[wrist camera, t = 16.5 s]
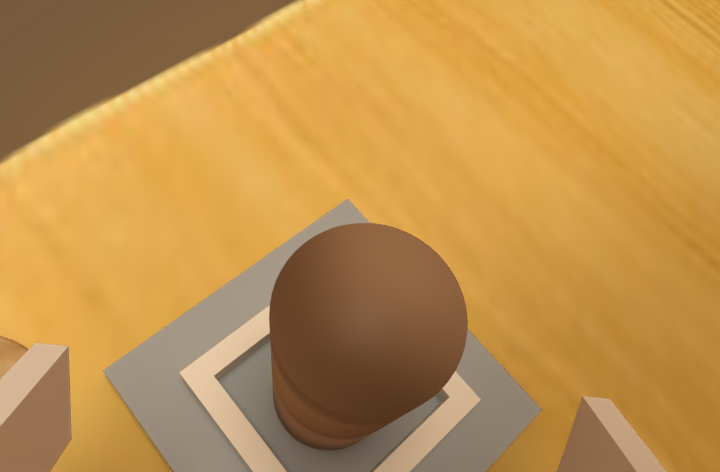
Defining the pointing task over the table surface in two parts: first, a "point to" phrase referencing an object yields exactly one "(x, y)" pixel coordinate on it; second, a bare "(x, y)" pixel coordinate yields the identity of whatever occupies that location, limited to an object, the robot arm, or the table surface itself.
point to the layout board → (256, 404)
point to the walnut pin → (361, 332)
